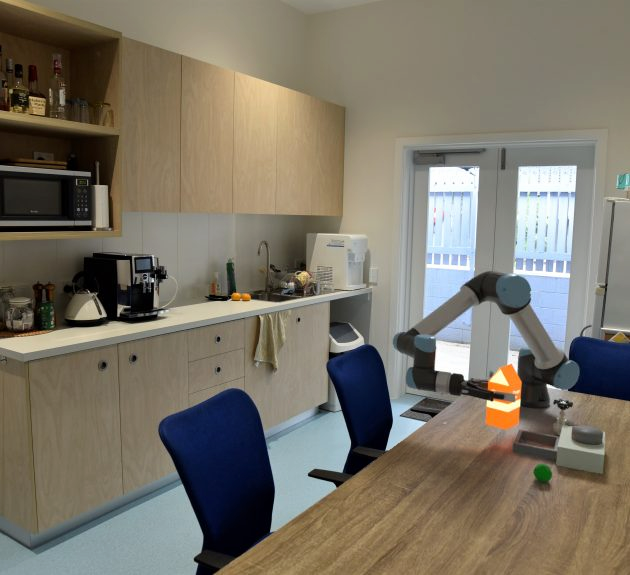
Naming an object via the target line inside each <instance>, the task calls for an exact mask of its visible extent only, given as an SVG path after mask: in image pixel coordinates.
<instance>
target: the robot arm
mask: <svg viewBox="0 0 630 575" xmlns="http://www.w3.org/2000/svg"><path fill="white" fill-rule="evenodd" d="M531 292H532V288H531V285H530V283H529V281H528V279H526V278H525V277H523V276H522V275H518V274H516V273H512V272H503V271H497V270H487V271H484V272H481V273H480V274H477V275H475V276H474V277H472V278H471V279H469V280H468V281H467V282H465V283H464V284H463V285H461V286H460V288H459V291H458V292H456V293H455V294H454V295H452V296H451V297H450V298H449V299H447V300H446V301H445V302H444V303H442V304H441V305H439V306H438V307H437V308H436V309H434V311H432V312H430V313H429V314H428V315H427V316H425V317H424V318H423V319H421V320H420V321H419V322H418V323H416V324H415V325H414V326H412V327H411V328H409V330H407V331H400V332H397V333H396V334H395V335H394V336H393V339H392V345H393V348H394V349H395V350H396V351H397V352H399V353H401V354H403V355H406V356H409V357H410V358H412V359H413V364H412V365H413V366H409V367H408V368H407V370H406V375H405V384H406V386H407V387H408V388H410V389H415V390H417V391H426V392H433V393H437V394H438V393H440V395H442V396H443V394H445V395H450V396H457V397H461V396H469V397H473V398H478V399H482V400H484V401H487V400H488V401H491V402H493V400H494V399H496V400H502V401H509V402H515V397H516V394H514V393H507V392H501V391H495V393H494V391H491V390H488V381H489V380H490V379H483V378H481V379H480V378H473V377H471V378H470V379H468V380H466V379H465V376H464V374H461V373H455V372H453V373H452V372H449V371H443V370H442V371H441V370H436V355H437V354H436V353H437V339H436V337H435V336H436V335H438V334H439V333H440V332H441V331H443V330H444V329H445V328H447V327H448V326H450V325H451V323H453V322H455V321H456V320H457V319H458V318H459V317H461V316H462V315H464V314H465V313H466V312H467V311H468V310H470V309H471V308H472V307H478V306H480V305H481V304H483V303H484V302H491V303H494V304H495V305H497V307H498V308H499V310H500V312H501V314H503V315H505V316H508V317H509V318H510V320H511V321H512V323H513V324H514V326H515V328H516V329H517V331H518V332H519V335H520V336H521V338H523V340H524V342H525V344H526V346H525V347H524V346H523V347H521V348H520V349H519V351H518V356H517V370H516V373H517V375H518V376H519V378H520V380H521V382H522V383H521V397H520V407H521V406H522V407H526V408H534V409H539V408H542V409H543V408H548V407H549V406H550V405H551V397H550V394H549V390H548V386H551V387H554V388H555V389H557V390H558V389H559V390H563V391H564V390H569V389H571V388H573V386H575V385H576V383H577V382H578V380H579V376H580V366H579V365H578V363H577V362H575V361H574V360H571V359H569V358H568V357H567V355H566V354H565V352H564V350H563V349H562V348H560V347H556V345H555V343H554V342H553V340H552V338H551V337H550V335H549V334H548V332H547V331H546V330H547V329H545V327H544V325H543V324H542V322H541V321H540V319H539V317H538V315H537V314H536V312H535V310H534V309H533V307H532V306H531V301H532V294H531Z"/></svg>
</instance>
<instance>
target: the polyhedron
mask: <svg viewBox="0 0 630 575" xmlns="http://www.w3.org/2000/svg"><path fill="white" fill-rule="evenodd" d="M532 474H533V476H534V478H535V480H537V481H539V482H541V483H548V482H549V481H550V480H551V479H552V476H553V472H552V469H551V468H550V467H549V466H548V465H546V464H545V463H541V464H537V465H536V466H535V467H534V469H533V473H532Z"/></svg>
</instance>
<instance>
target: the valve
mask: <svg viewBox="0 0 630 575" xmlns="http://www.w3.org/2000/svg"><path fill="white" fill-rule="evenodd" d="M552 404H553V405H557V408H558V409H559V410H560V411H559V412H558V413H559V414H558V415H559V416H558V417H557V419H556V422H554V423H553V430H554V431H555V433H556V434H557V435H558V436H560V434H561V430H562V425H566V423H567V419H566V418H565V417H566V412H565V411H566V410H569V409H570V408H573V406H574V402H572V401H570V400H567V399H566V400H564V399H561V398H560V399H553V403H552Z"/></svg>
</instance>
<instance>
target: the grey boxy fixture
mask: <svg viewBox="0 0 630 575" xmlns="http://www.w3.org/2000/svg"><path fill="white" fill-rule="evenodd" d="M522 441H527V442H533V443H538V444H544V445H549V446H554V447H553V448H554V449H553V448H549V447H542V446H538V445H537V446H536V445H532V444H525V443H522ZM605 447H606V431H603V430H602V429H599V428H596V427H594V426H588V425H574V426H573V425H567V424H565V425H562V430H561V434H560V435H558V436H557V435H552V434H548V433H547V434H546V433H541V432H535V431H530V430H523V429H518V432H517V434H516V437H515V438H514V441H513V443H512V453H515V454H519V455H525V456H528V457H529V456H531V457H534V458H541V459H546V460H551V461H554V462H555V461H556V462H555V465H556V466H558V467H564V468H569V469H573V470H578V471H583V470H584V472H588V473H589V472H591V473H594V472H595V473H594V474H599V473H600V474H599V475H604V464H605V463H604V462H605V453H606V452H605V451H606V450H605V449H606V448H605Z"/></svg>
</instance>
